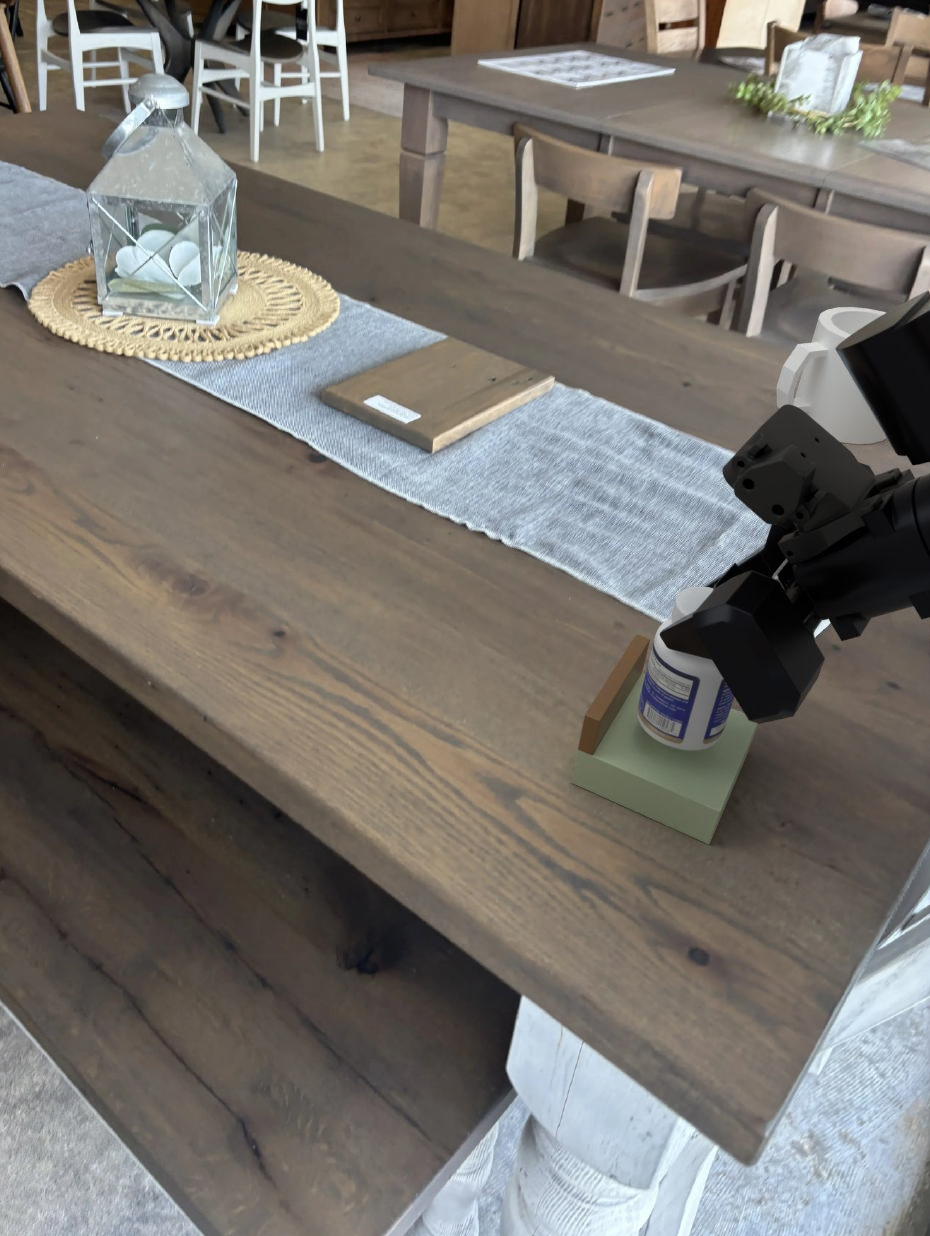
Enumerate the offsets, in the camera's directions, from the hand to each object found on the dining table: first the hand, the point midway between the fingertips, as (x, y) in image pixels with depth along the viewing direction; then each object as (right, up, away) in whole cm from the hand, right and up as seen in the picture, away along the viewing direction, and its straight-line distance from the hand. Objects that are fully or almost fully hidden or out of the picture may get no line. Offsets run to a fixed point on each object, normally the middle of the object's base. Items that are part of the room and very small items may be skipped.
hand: (681, 619), depth 58 cm
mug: (+28, +18, +48) cm, 59 cm away
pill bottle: (+1, -7, +3) cm, 8 cm away
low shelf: (0, -10, +7) cm, 12 cm away
